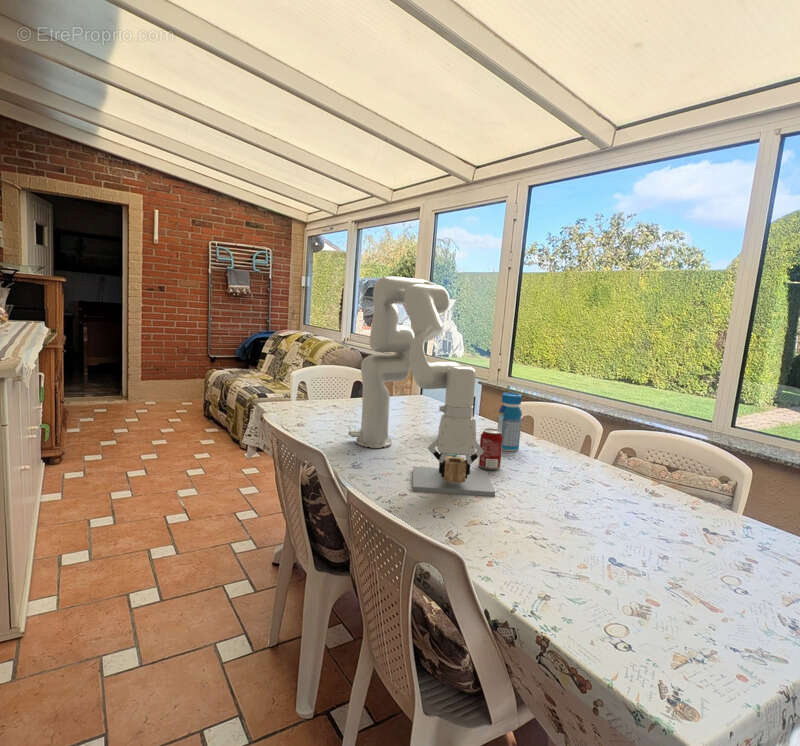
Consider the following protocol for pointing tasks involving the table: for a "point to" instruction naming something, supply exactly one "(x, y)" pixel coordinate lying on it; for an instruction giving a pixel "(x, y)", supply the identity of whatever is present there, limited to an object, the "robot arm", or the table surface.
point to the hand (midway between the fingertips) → (453, 475)
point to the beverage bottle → (510, 421)
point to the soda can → (490, 449)
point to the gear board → (442, 486)
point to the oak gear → (454, 469)
